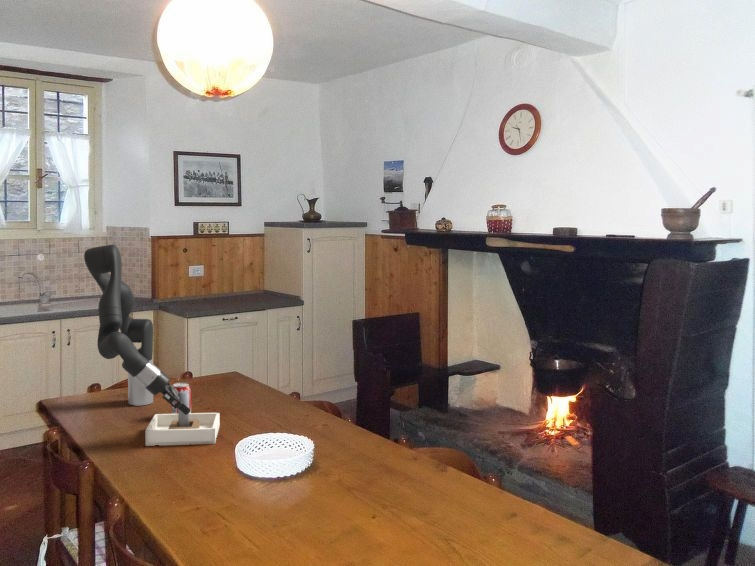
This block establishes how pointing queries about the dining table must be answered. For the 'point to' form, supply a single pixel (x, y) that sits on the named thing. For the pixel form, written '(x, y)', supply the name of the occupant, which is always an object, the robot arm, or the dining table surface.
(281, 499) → the dining table surface
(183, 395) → the peg
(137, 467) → the dining table surface
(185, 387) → the soda can
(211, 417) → the white rectangular tray
